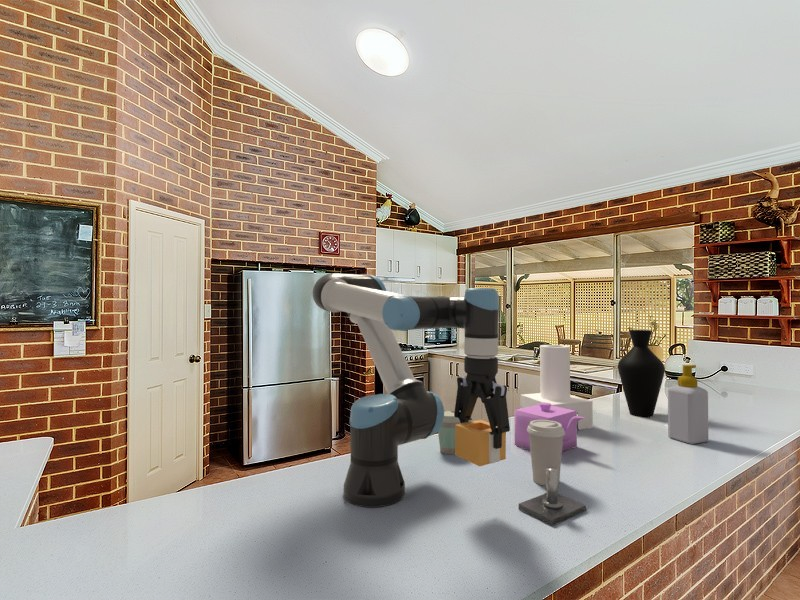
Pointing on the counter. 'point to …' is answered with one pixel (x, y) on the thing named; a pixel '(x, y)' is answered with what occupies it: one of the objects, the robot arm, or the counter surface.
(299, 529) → the counter surface
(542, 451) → the coffee cup
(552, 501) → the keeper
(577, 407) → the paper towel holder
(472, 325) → the robot arm
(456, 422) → the coffee cup
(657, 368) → the vase
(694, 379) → the soap bottle
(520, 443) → the teapot
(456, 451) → the hollow block
